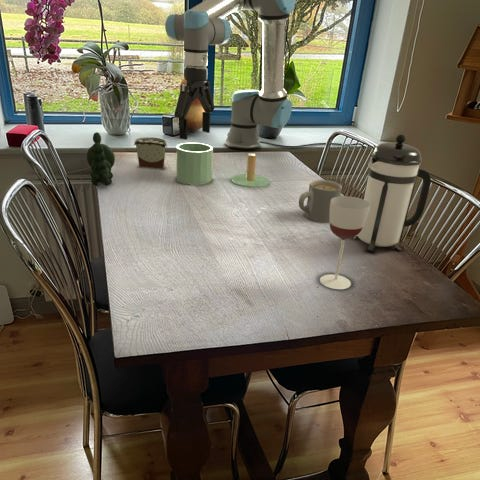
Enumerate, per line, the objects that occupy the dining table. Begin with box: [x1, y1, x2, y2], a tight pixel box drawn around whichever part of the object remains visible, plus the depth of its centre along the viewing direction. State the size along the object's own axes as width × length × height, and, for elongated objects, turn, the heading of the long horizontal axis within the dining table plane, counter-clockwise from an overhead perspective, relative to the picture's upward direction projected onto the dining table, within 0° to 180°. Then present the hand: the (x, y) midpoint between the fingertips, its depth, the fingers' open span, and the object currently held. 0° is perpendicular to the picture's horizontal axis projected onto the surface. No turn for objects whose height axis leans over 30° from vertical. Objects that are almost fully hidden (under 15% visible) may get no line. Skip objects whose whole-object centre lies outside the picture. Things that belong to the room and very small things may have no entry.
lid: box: [230, 152, 270, 188], centre depth 178 cm, size 14×14×10 cm
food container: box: [133, 136, 168, 170], centre depth 188 cm, size 12×6×10 cm, turn 84°
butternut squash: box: [178, 76, 205, 132], centre depth 236 cm, size 14×13×25 cm
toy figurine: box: [86, 131, 116, 186], centre depth 168 cm, size 9×19×25 cm
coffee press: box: [351, 134, 432, 254], centre depth 134 cm, size 17×16×30 cm
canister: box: [175, 142, 214, 186], centre depth 177 cm, size 13×13×12 cm
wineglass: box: [319, 195, 370, 290], centre depth 115 cm, size 8×9×20 cm
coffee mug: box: [298, 179, 343, 223], centre depth 154 cm, size 13×10×10 cm
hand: (195, 135), depth 172 cm, fingers open, 13 cm apart
